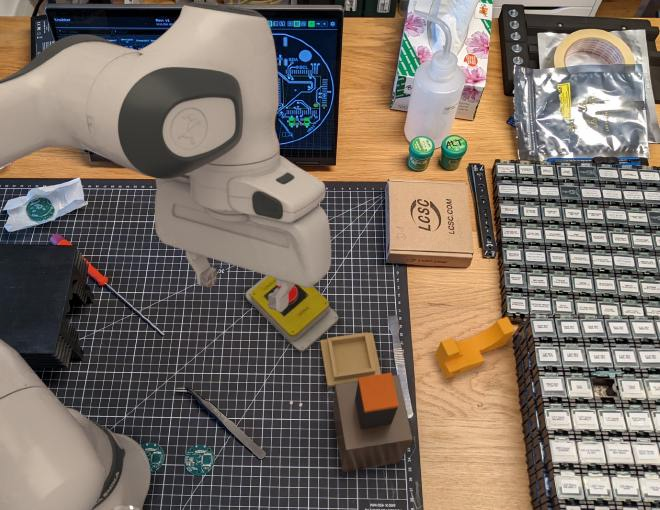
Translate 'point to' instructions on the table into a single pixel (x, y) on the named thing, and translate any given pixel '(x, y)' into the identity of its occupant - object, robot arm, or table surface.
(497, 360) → the table surface
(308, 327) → the emergency button
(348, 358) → the base pad
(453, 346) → the orange curved piece
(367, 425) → the orange and black block
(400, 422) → the stand
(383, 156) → the table surface
